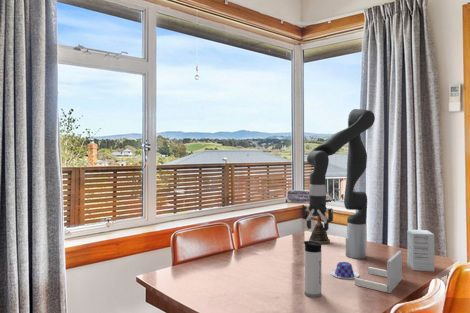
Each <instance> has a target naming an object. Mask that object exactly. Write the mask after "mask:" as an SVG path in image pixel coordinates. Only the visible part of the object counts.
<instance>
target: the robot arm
mask: <svg viewBox="0 0 470 313" xmlns="http://www.w3.org/2000/svg"><path fill="white" fill-rule="evenodd" d="M375 116H376V115H375V114H374V112H373V111H372V110H369V109H359V108H358V109H357V108H353V109H352V110H351V111H350V112H349V114H348V118H347V127H346V128H344V129H341V130H340V131H338V132H336V133H333V134H332V135H331V136H330V137H328V138H327V139H326V140H325V141H324V142H323V143H322V144H320V145H318V146H316V147H315V148H313V149H312V150H310V152H309V153H308V154H307V156H306V161H307V163H308V165H310V166H312V167H314V168H313V169H314V170H313V171H311V172H310V173H309V187H308V190H309V191H308V196H309V197H308V200H309V202H308V204H309V205H303V206H302V219H303V220H306V227H307V229H308V230H310V229H312V219H313V218H314V217H317V216H318V217H321V220H323V221H324V223H323V227H324V231H326V232H327V231H329V229H330V228H329V223H332V222H333V221H334V209H333V208H332V207H331V208H328V207H327V202H326V191H327V187H326V185H327V184H326V174H327V171H328V167H329V162H330V161H329V160H330V159H329V156H332V155H335V154H336V153H337V152H338V151H340V149H341V148H343V147H344V146H345V145H346V144H347V143H348V147H347V148H348V149H347V150H348V151H347V159H346V160H347V163H346V182H345V190H344V196H343V205H344V207H345V209H346V210H348V211H349V210H352V211H353V210H354V211H355V210H357V211H356V212H355V213H353V214H351V215H349V216H348V217H347V218H346V220H347V222H346V223H347V226H346V227H347V228H346V229H347V230H346V237H345V256H346V257H348V258H352V259H356V260H358V259H360V260H361V259H366V257H367V217H368V216H367V212H368V196H367V193H366V192H365V191H354V188H355V186H356V184H357V182H358V181H359V179H360V178H361V177H362V175H364V173H365V171H366V170H367V165H368V164H367V162H368V152H367V150H366V147H365V145H364V143H363V140H362V136H361V135H362V134H363V133H364V132H366V131H367V130H368V129H370V128H371V127H372V126H373V125H374V123H375V119H376V117H375ZM308 211H309V214H308ZM326 213H327V214H328V215H327V214H326Z"/></svg>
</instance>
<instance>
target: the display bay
mask: <svg viewBox="0 0 470 313" xmlns="http://www.w3.org/2000/svg"><path fill="white" fill-rule="evenodd" d="M402 270H403V250H398V251H397V252H395V254H393V255H392V256H391V257H390V258H389V259H388V260H387V262H386V269H382V268H377V267H370V266H368V268H367V273H368V274H370V275H375V276H380V277H386V284H385V283H380V282H377V281H376V282H375V281H373V280H366V279H362V278H359V277H357V278H354V286H359V287H362V288H367V289H371V290H375V291H379V292H383V293H388V294H391V293H392V291H394V289H395V288H396V287H397V286H398V284H399V283H400V282H401V281H402V280H403V271H402Z"/></svg>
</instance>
